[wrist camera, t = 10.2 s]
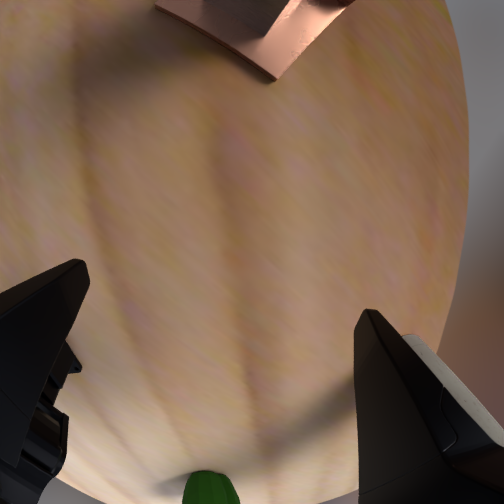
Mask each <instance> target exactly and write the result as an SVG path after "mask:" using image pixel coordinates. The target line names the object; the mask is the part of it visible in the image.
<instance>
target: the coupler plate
mask: <svg viewBox="0 0 504 504" xmlns="http://www.w3.org/2000/svg"><path fill="white" fill-rule="evenodd" d="M354 1H355V0H301V2H300V3H299V4H298V5H297V6H296V7H295V8H294V9H293V10H291V11H290V12H289V13H288V14H287V15H286V16H285V17H284V18H283V19H282V20H281V21H280V22H279V23H278V24H277V25H276V26H275V27H274V28H273V29H272V30H271V31H270V32H269V33H268V34H267V35H266V36H265V37H264V36H262V35H261V34H259V33H258V32H256V31H255V30H253V29H252V28H250V27H249V26H247V25H246V24H244V23H242V22H241V21H239V20H237V19H236V18H234V17H232V16H231V15H229V14H227V13H226V12H224V11H222V10H220V9H219V8H217V7H215V6H213V5H211V4H209V3H208V2H206V1H204V0H157V1H156V2H155V3H154V5H155V8H156V9H158V10H160V11H162V12H164V13H166V14H168V15H170V16H172V17H174V18H176V19H178V20H180V21H181V22H183V23H185V24H187V25H189V26H191V27H192V28H194V29H196V30H198V31H199V32H201V33H203V34H205V35H206V36H208V37H210V38H211V39H213V40H215V41H216V42H218V43H219V44H221V45H223V46H224V47H226V48H227V49H229V50H230V51H232V52H234V53H235V54H237V55H238V56H240V57H241V58H243V59H244V60H245V61H247V62H248V63H250V64H251V65H253V66H254V67H256V68H257V69H258V70H260V71H261V72H262V73H264V74H265V75H267V76H268V77H269V78H271V79H272V80H273V81H276V80H277V79H278V78H279V77H280V76H281V75H282V74H283V73H284V72H285V70H286V69H287V68H288V67H289V66H290V65H291V64H292V63H293V61H294V60H295V59H296V58H297V57H298V56H299V55H300V54H301V53H302V52H303V51H304V49H305V48H306V47H307V46H308V45H309V44H310V43H311V42H312V41H313V40H314V39H315V38H316V37H317V36H318V35H319V34H320V33H321V32H322V31H323V30H324V29H325V28H326V27H327V26H328V25H329V24H330V23H331V22H332V21H333V20H334V19H335V18H336V17H337V16H338V15H339V14H340V13H341V12H342V11H343V10H344V9H345V8H346V7H347V6H348V5H350V4H351V3H352V2H354Z"/></svg>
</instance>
